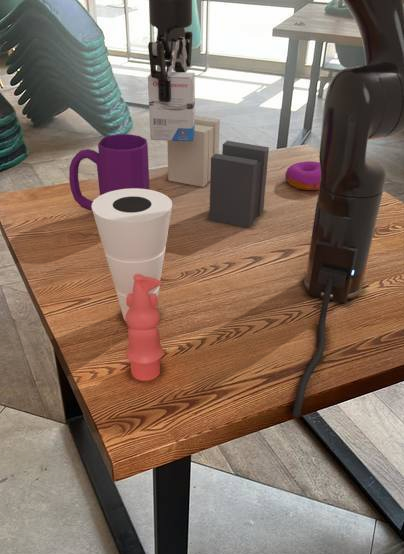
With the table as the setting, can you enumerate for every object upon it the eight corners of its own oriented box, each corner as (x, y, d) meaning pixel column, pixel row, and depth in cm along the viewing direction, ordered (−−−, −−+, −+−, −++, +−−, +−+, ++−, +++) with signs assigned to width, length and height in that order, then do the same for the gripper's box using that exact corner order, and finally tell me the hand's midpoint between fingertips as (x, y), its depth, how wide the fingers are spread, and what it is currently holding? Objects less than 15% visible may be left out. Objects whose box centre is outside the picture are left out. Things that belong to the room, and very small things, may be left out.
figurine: (165, 358, 79) (162, 263, 70) (165, 383, 75) (162, 285, 66) (128, 358, 79) (120, 263, 70) (126, 383, 75) (117, 285, 66)
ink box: (195, 134, 117) (195, 71, 109) (192, 142, 113) (192, 77, 106) (154, 132, 117) (151, 69, 110) (150, 140, 114) (147, 75, 106)
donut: (314, 173, 133) (317, 154, 130) (340, 189, 126) (343, 169, 123) (276, 180, 130) (278, 160, 127) (300, 197, 123) (303, 176, 120)
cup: (188, 317, 87) (188, 205, 76) (134, 346, 81) (125, 230, 70) (143, 289, 93) (137, 182, 82) (89, 315, 87) (75, 203, 76)
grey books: (249, 228, 111) (254, 161, 103) (208, 219, 114) (210, 154, 105) (263, 211, 117) (269, 147, 109) (224, 203, 120) (227, 140, 111)
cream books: (203, 187, 126) (204, 130, 118) (167, 180, 129) (166, 124, 121) (217, 174, 132) (219, 119, 124) (183, 168, 135) (183, 113, 127)
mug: (146, 230, 109) (142, 151, 100) (67, 225, 111) (56, 146, 101) (155, 210, 116) (152, 134, 107) (80, 205, 118) (71, 130, 108)
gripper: (172, 1, 94) (173, 109, 104) (206, -9, 104) (204, 90, 114) (131, -2, 96) (137, 104, 106) (169, -12, 106) (170, 86, 117)
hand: (172, 96), depth 110 cm, fingers closed on ink box, 5 cm apart
